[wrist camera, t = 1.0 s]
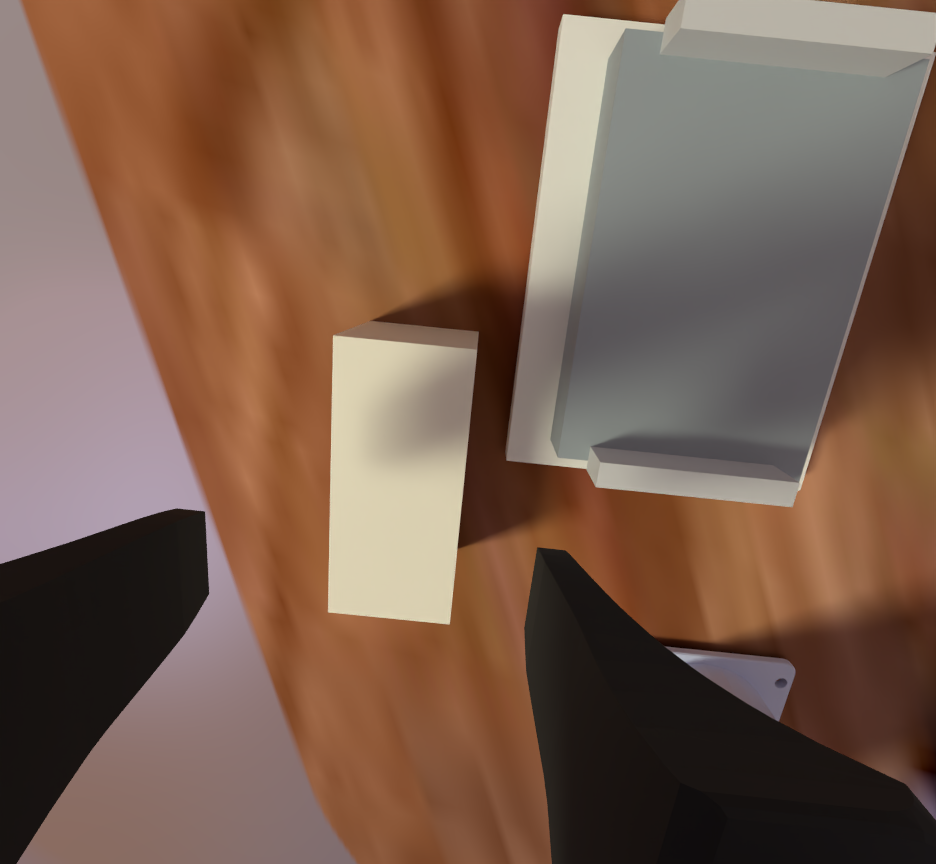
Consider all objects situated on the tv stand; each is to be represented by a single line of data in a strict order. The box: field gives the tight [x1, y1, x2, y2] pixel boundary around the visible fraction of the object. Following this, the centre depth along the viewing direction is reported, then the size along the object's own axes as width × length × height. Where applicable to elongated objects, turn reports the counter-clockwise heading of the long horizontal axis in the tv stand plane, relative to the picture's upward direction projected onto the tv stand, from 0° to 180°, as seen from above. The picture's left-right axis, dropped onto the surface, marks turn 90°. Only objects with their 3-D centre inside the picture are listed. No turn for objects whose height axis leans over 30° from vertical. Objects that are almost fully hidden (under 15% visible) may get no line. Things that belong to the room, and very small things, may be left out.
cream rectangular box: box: [328, 321, 479, 624], centre depth 18 cm, size 9×4×5 cm, turn 175°
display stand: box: [505, 0, 936, 507], centre depth 16 cm, size 14×11×4 cm
